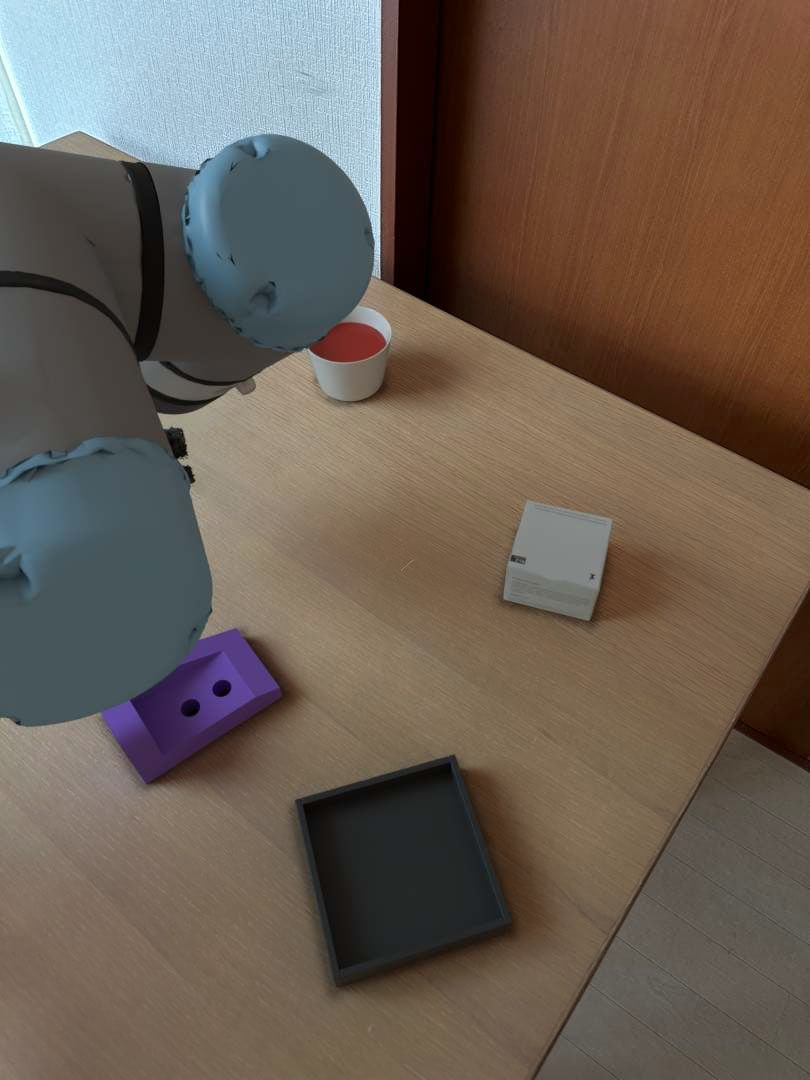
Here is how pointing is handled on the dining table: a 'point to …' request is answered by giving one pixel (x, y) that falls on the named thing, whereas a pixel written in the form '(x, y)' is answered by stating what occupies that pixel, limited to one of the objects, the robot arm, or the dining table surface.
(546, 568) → the small box
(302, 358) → the dining table surface
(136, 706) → the bracket
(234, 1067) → the dining table surface
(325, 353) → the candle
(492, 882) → the black tray
